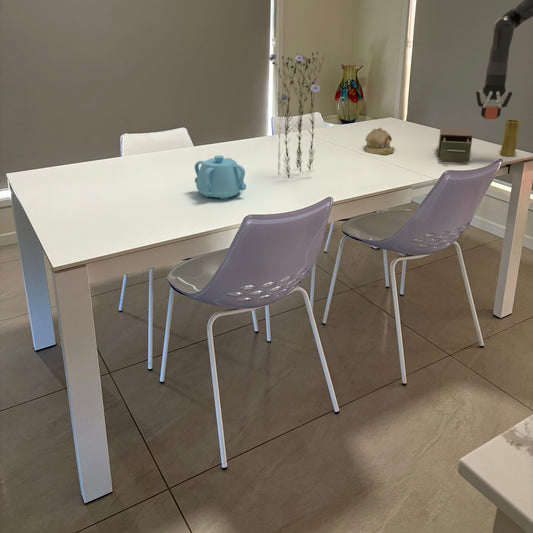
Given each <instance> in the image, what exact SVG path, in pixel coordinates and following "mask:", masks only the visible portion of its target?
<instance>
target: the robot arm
mask: <svg viewBox="0 0 533 533" xmlns="http://www.w3.org/2000/svg"><path fill="white" fill-rule="evenodd" d="M532 18H533V0H521V1H520V2H519V3H517V4H516V6H515V7H512V9H510V10H509V11H507V12H505V13H504V14H502V15H501V16H500V17H499V18H497V19H496V20H495V22H494V23H493V27H492V30H493V37H492V45H491V47H490V51H489V58H488V62H487V67H486V72H485V80H484V87H483V88H482V89H480V90H479V89H477V90H475V96H476V103H477V106H478V107H481V111H480V116H481V117H482V118H484V117H485V111H486V106H488V103H489V101H492V100H494V101H496V104H497V105H496V106H497V107H498V112H497V118H496V119H498V118H499V117H501V111H502V109H503V108H506V107H507V106H508V104H509V102H510V100H511V98H512V95H513V92H512V91H511V90H507V89H506V84H507V83H506V81H507V77H508V71H509V61H510V60H509V59H510V53H511V45H512V41H513V37H514V31H515V29H516V28H518V27H519V26H520V25H522V24H523V23H525V22H528V21H529V20H530V19H532ZM483 94H484V96H485V98H484V100H483V102H482V99H481V96H483ZM504 95H505V99H504V101H503V103H502V99H501V98H502V96H504Z"/></svg>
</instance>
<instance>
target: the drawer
mask: <svg viewBox="0 0 533 533" xmlns="http://www.w3.org/2000/svg"><path fill="white" fill-rule="evenodd" d="M471 150H472V143H471V142H469V138H464V137H443V141H442V143H441V151H440V157H439V161H440V162H452V163H453V162H454V163H455V162H456V163H470V157H471Z"/></svg>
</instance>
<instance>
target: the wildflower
mask: <svg viewBox="0 0 533 533" xmlns="http://www.w3.org/2000/svg"><path fill="white" fill-rule="evenodd" d="M318 54H319V51H316V55H318ZM311 56H314V52H311ZM325 56H326V53H324V55H323V57H322V58H321V60H322V61H321V63H320V61H319V63H318V64H316V63H315V62H317V61H318V59H316V57H312V61H311V59H310V58H309V57H305V56H304V55H303V54H300V55H299V53H298V52H297V53H296V56H295V63H293V62H294V59H293V57H287V62H285V63H284V58H285V57H284V55H281V59H282V63H283V67H285V69H287V70H288V71H290V68H291V72H290V74H288V77H287V76H286V75H287V73H286V70H284V69H281V68H278V69H277V67H278V63H277V62H276V61H275V60H276V59H277V54H276V53H275V54H274V53H273V54H270V56H269V57H268V60H270V62H271V64H272V65H273V66H274V67H275V69H277V75H278V76H279V78H280V79H281V80H282V83H283V88H284V89H285V91H286V92H287V93H288V95H289V97H288V95H287V94H283V93H282V94H281V97H276V98H277V106H280V108H279V107H277V110H278V114H277V115H278V119H277V120H278V121H280V120H283V118H284V120H285V122H286V124H284V136H285V139H288V134H289V133H290V131H291V130H292V128H290V126H292V123H290V122H291V121H292V118H293V116H291V114H292V112H290V101H291V99H292V98H291V96H290V92H291V89H288V85H287V84H286V82H285V81H284V80H289V87H291V86H292V85H293V88H294V93H295V94H296V96H297V100H298V103H299V109H298V113H297V114H298V116H299V118H298V119H297V121H298V122H297V121H295V123H296V124H297V125H295V127H296V128H297V130H298V133H299V134H300V135H299V134H296V137H297V138H298V141H301V140H302V135H303V133H301V132H302V124H303V123H302V122H303V116H304V113H305V111H304V109H303V108H304V106H305V104H303V103H305V102H306V101H307V99H308V94H310V108H309V109H307V111H308V114H309V115H310V116H311V118H310V117H308V119H309V121H310V124H311V128H312V129H311V130H312V131H310V129H307V130H308V133H309V134H310V135H311V140H309V141H310V149H309V151H308V152H309V153H308V155H309V157H310V158H309V159H308V163H306V165H307V168H308V171H311V169H313V167H314V166H312V165H313V164H314V162H313V161H314V159H315V157H314V155H315V152H316V150H315V147H313V142H314V135H315V133H314V128H315V119H316V118H315V117H314V116H315V110H313V111H312V109H314V104H313V102H314V100H315V98H316V95H313V94H315V93H318V92H321V86H319V85H318V82H317V78H313V77H311V76H310V74H312V72H313V76H315V74H316V72H315V71H316V70H317V67H318V65H319V64H320V67H319V68H318V71H317V74H316V76H315V77H318V73H320V71H321V70H322V69H323V68H322V66H323V61H324V60H325ZM289 61H291V64H292V65H290V67H289ZM303 61H304V63H303ZM313 64H314V67H312V68H310V70H309V66H313ZM285 65H286V66H285ZM299 65H300V66H301V67H300V66H299ZM300 68H301V69H300ZM281 71H282V74H283V75H284V79H283V76H281ZM292 71H293V73H292ZM302 71H304V72H307V78H308V80H309V81H310V82H307V78H306V73H303V72H302ZM297 72H298V73H299V74H300V75H298V74H297ZM292 74H293V75H292ZM291 75H292V76H291ZM294 77H296V78H297V79H298V80H297V84H298V86H299V89H300V90H299V95H298V92H297V88H298V87H297V86H295V80H294ZM301 78H302V79H301ZM303 89H305V90H307V91H304V94H303ZM306 93H307V94H306ZM276 96H279V92H276ZM302 98H303V103H302V100H301V99H302ZM286 101H287V103H286ZM282 105H283V109H282V113H284V112H285V105H286V112H285V113H284V115H285V116H284V115H281V108H282ZM289 112H290V114H289ZM280 125H282V122H280ZM280 125H277V126H278V130H279V131H278V133H277V135H278V140H279V141H278V154H277V156H278V157H277V158H278V162H281V158H280V157H281V152H280V150H281V149H280V148H281V146H280V142H281V141H280V137H281V130H282V128H280ZM290 140H291V138H289V139H288V140H283V141H284V144H285V155H286V156H285V155H283V156H284V158H283V162H284V164H285V165H284V164H283V167H284V169H285V171H286V172H285V174H286V175H287V179H289V178H290V174H291V172H290V170H291V167H290V166H291V165H289V163H290V162H291V160H290V157H289V152H288V151H289V148H290V147H288V142H290ZM297 145H298V146H297V148H296V159H297V160H296V161H295V164H296V168H297V169H299V173H301V172H302V163H303V162H304V160H302V159H303V157H302V156H303V152H304V151H302V150H301V142H297ZM281 166H282V164H281V163H278V166H277V167H278V168H277V170H278V172H277V173H278V175H280V171H281V170H280V169H281V168H280V167H281ZM311 166H312V167H311Z"/></svg>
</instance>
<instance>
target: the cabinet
mask: <svg viewBox="0 0 533 533" xmlns="http://www.w3.org/2000/svg"><path fill="white" fill-rule="evenodd" d="M438 135H439V137H438V146H437V158H440V151H441V143H442V141H443V137H464V138H469V142H471V143H472V142H473V132H472V128H470V127H469V128H468V127H449V126H447V127H446V126H440V128H439V134H438Z"/></svg>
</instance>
